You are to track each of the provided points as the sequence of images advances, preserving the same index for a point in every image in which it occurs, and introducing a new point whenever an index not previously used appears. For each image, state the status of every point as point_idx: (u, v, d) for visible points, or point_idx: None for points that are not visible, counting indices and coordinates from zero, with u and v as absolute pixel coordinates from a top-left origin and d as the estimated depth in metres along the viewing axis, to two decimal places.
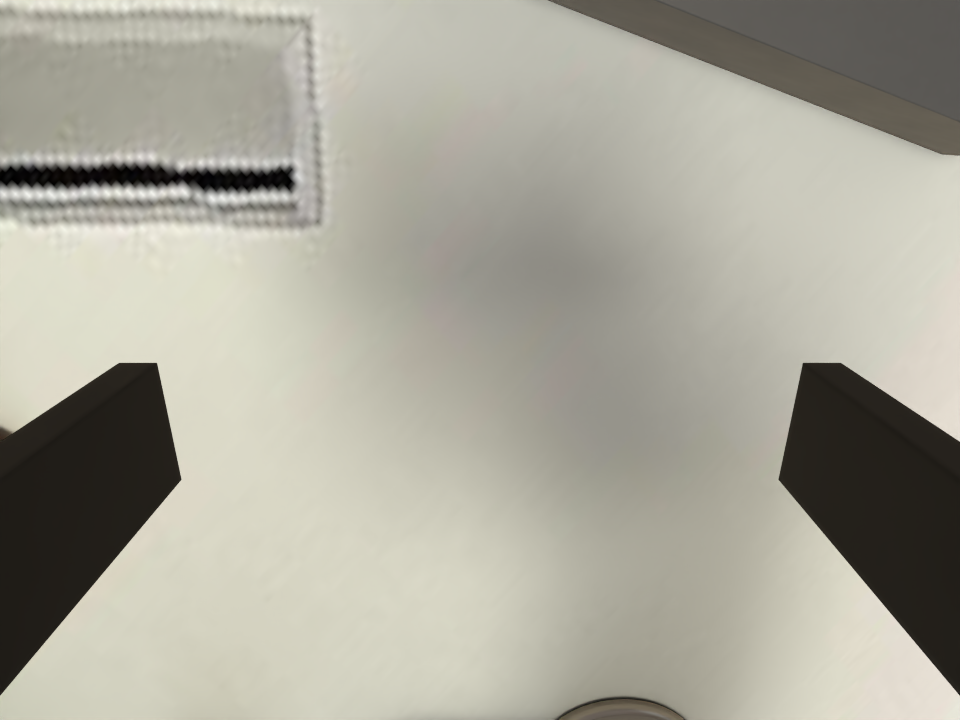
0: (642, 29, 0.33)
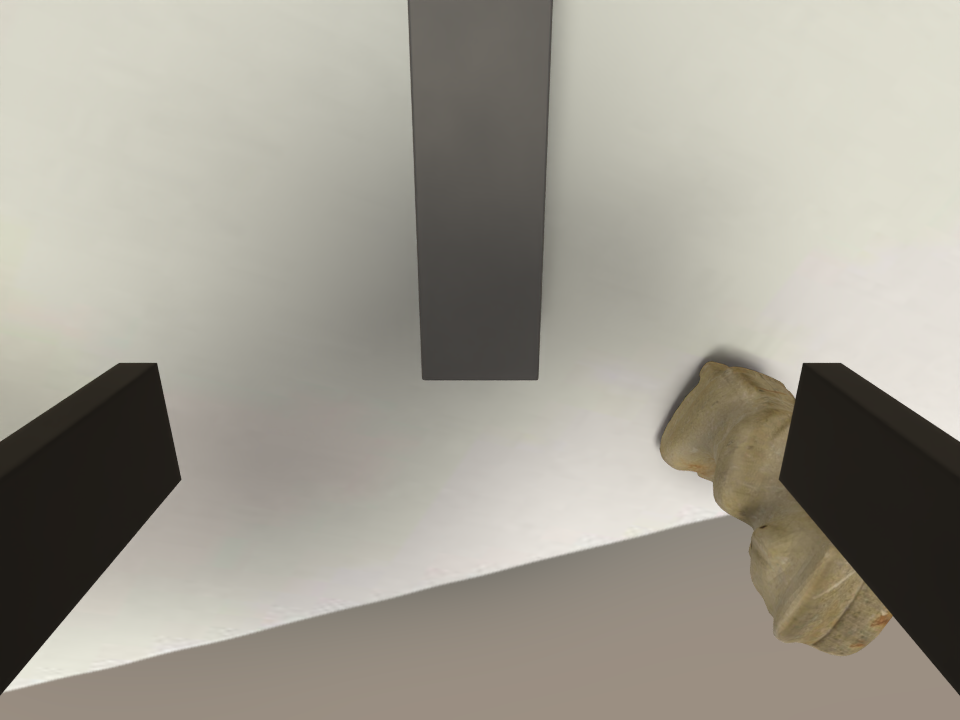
0: None
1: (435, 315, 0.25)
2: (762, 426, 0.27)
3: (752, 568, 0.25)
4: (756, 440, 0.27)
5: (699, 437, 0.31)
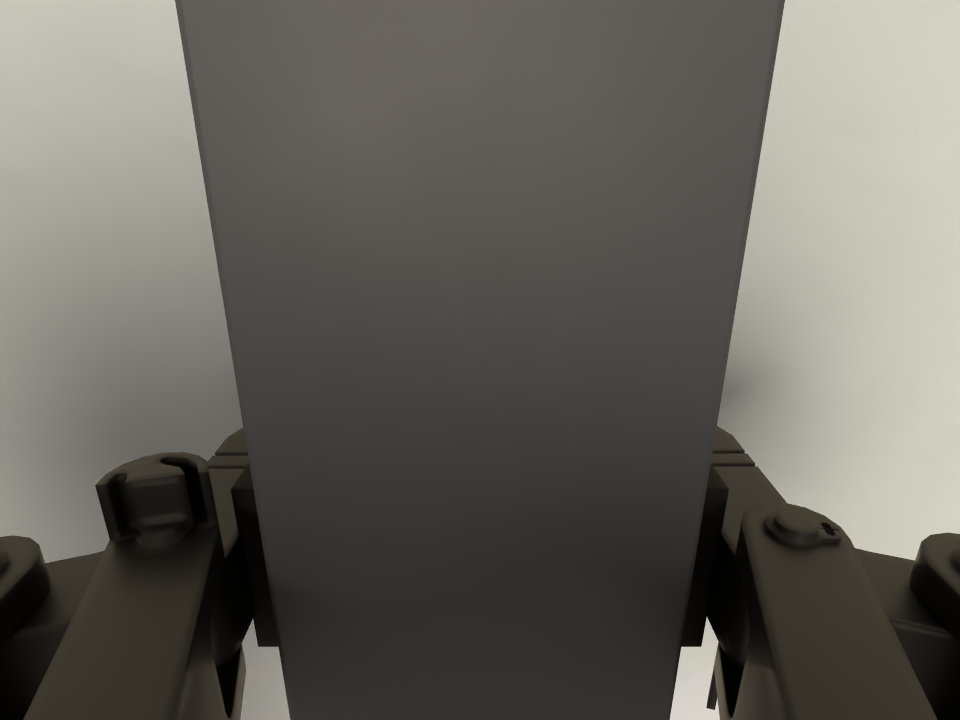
0: None
1: None
2: None
3: None
4: None
5: None
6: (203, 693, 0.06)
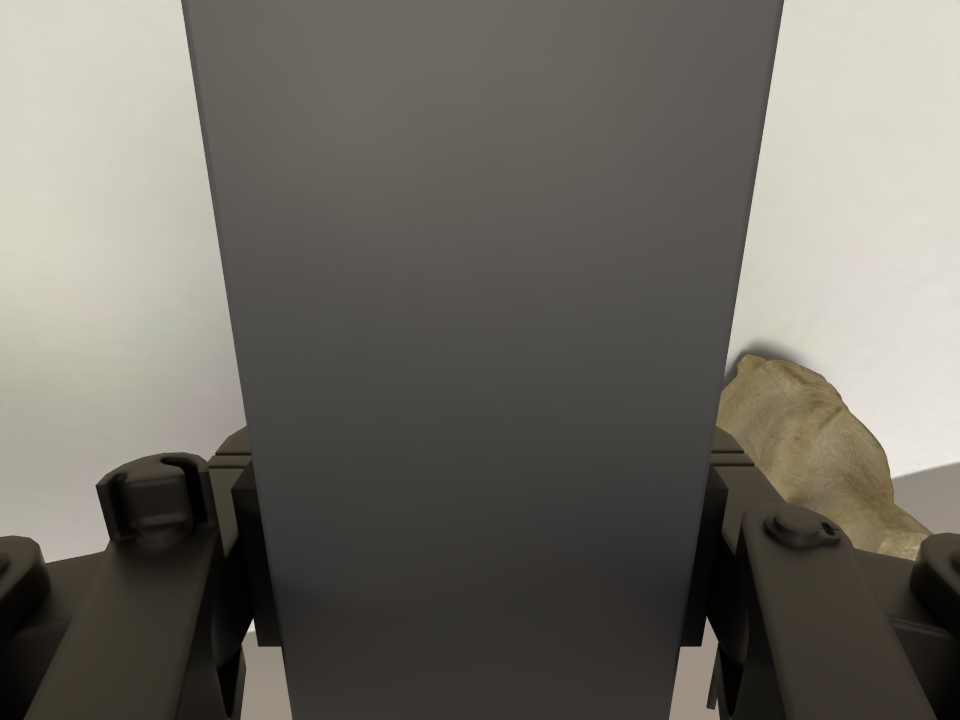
0: None
1: None
2: (808, 418, 0.27)
3: None
4: (802, 431, 0.26)
5: (738, 429, 0.31)
6: (204, 693, 0.06)
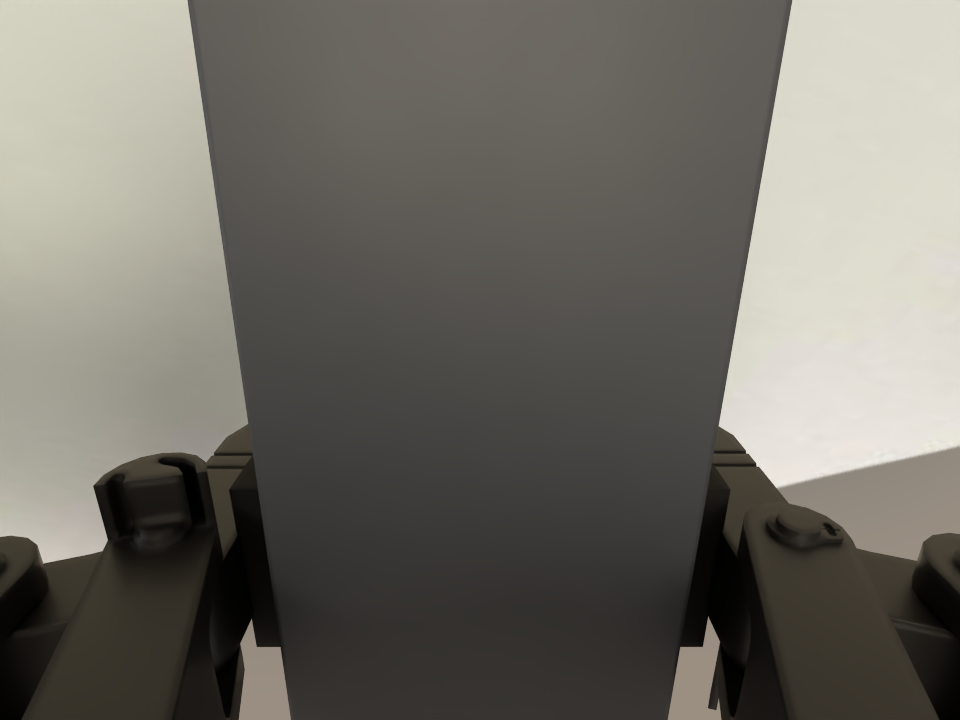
0: None
1: None
2: None
3: None
4: None
5: None
6: (202, 693, 0.06)
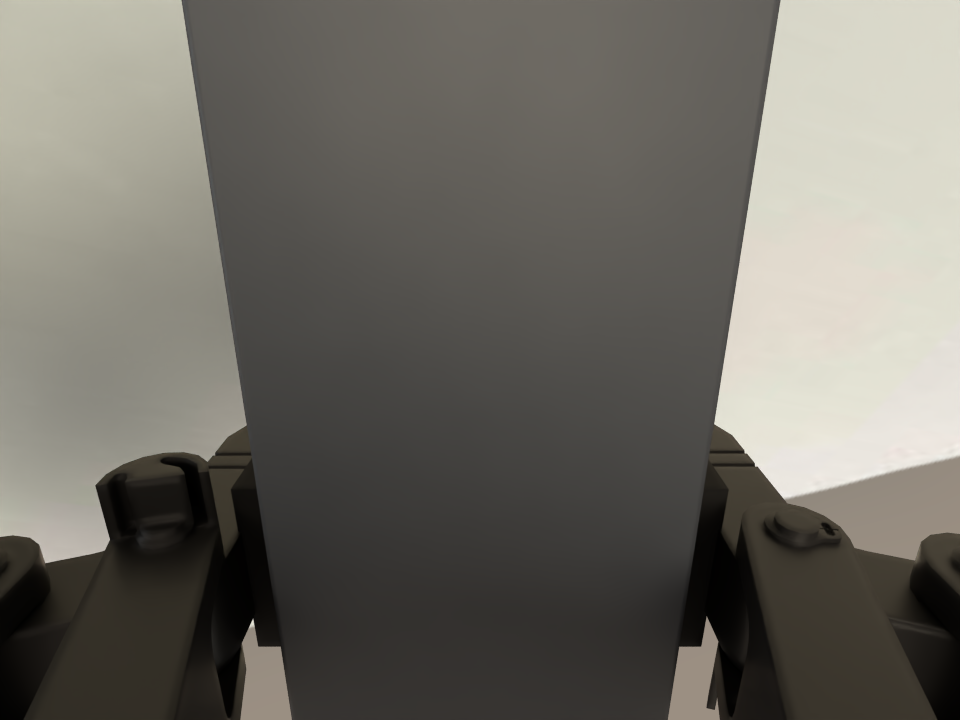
0: None
1: None
2: None
3: None
4: None
5: None
6: (204, 693, 0.06)
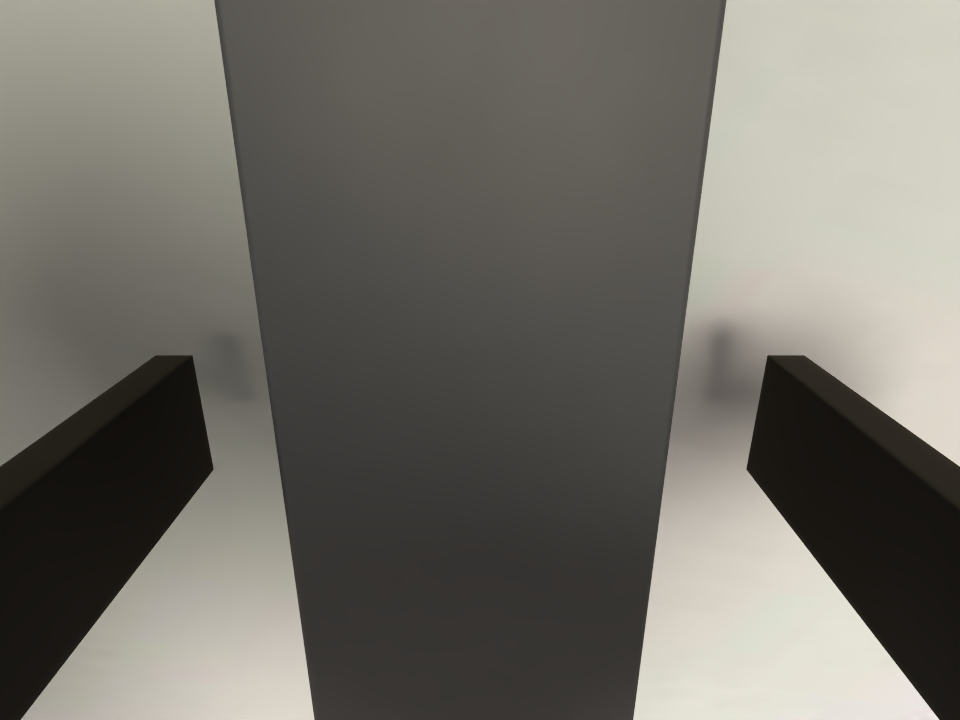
0: None
1: (346, 643, 0.09)
2: None
3: None
4: None
5: None
6: None
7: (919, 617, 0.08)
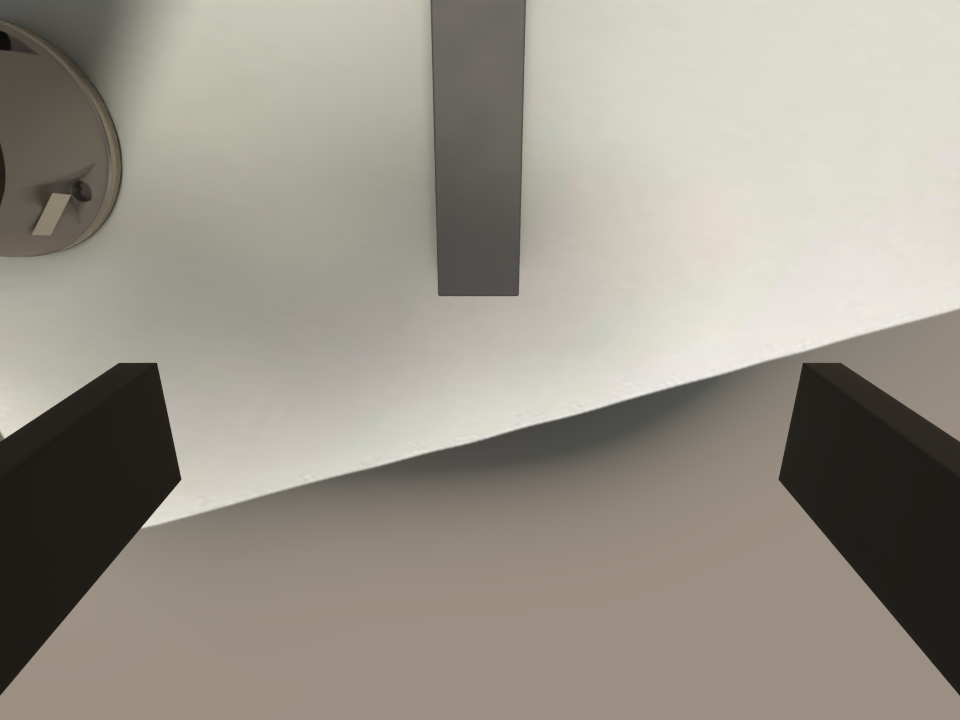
0: None
1: (447, 249, 0.36)
2: None
3: None
4: None
5: None
6: None
7: None
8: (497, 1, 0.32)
